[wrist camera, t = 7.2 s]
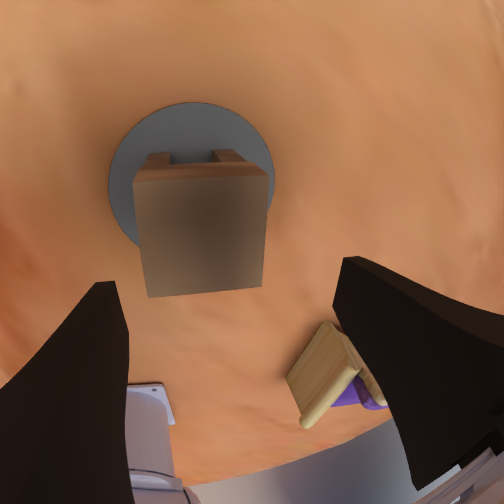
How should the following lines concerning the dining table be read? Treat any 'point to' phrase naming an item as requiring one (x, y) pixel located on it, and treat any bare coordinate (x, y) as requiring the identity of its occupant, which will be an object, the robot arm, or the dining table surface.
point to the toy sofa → (331, 377)
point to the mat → (181, 149)
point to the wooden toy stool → (201, 223)
